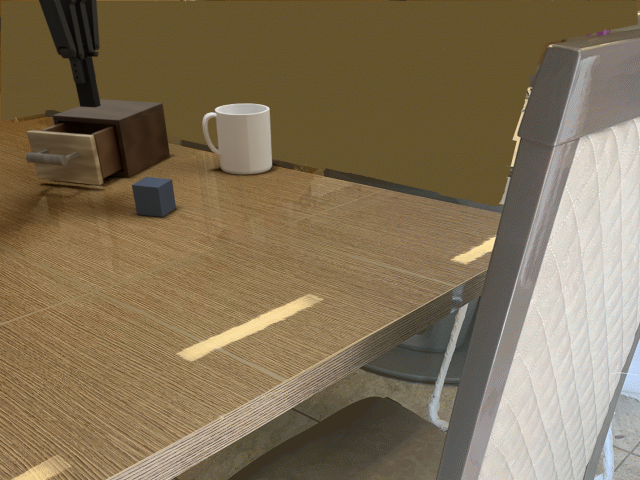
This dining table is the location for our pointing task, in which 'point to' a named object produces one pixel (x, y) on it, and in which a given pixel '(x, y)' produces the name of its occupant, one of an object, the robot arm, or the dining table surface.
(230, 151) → the mug
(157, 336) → the dining table surface
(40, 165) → the drawer
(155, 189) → the block
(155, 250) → the dining table surface
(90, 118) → the cabinet
